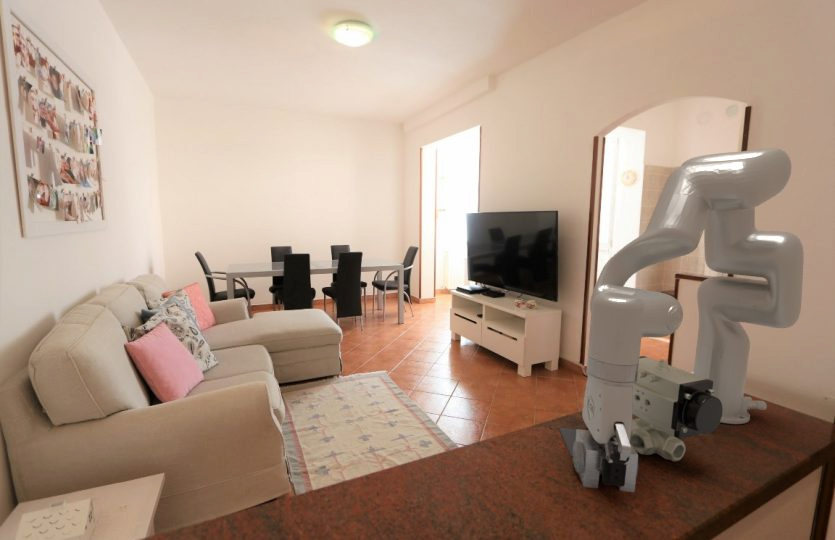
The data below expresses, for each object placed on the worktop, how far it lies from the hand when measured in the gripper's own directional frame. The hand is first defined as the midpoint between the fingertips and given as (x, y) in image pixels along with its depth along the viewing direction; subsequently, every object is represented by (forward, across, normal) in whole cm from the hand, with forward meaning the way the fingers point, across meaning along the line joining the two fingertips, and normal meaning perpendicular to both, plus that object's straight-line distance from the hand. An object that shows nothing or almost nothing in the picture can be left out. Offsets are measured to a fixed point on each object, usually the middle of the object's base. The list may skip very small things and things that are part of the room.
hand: (603, 465), depth 67 cm
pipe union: (+2, 0, 0) cm, 2 cm away
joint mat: (+2, -10, +1) cm, 10 cm away
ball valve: (+2, -10, +12) cm, 16 cm away
